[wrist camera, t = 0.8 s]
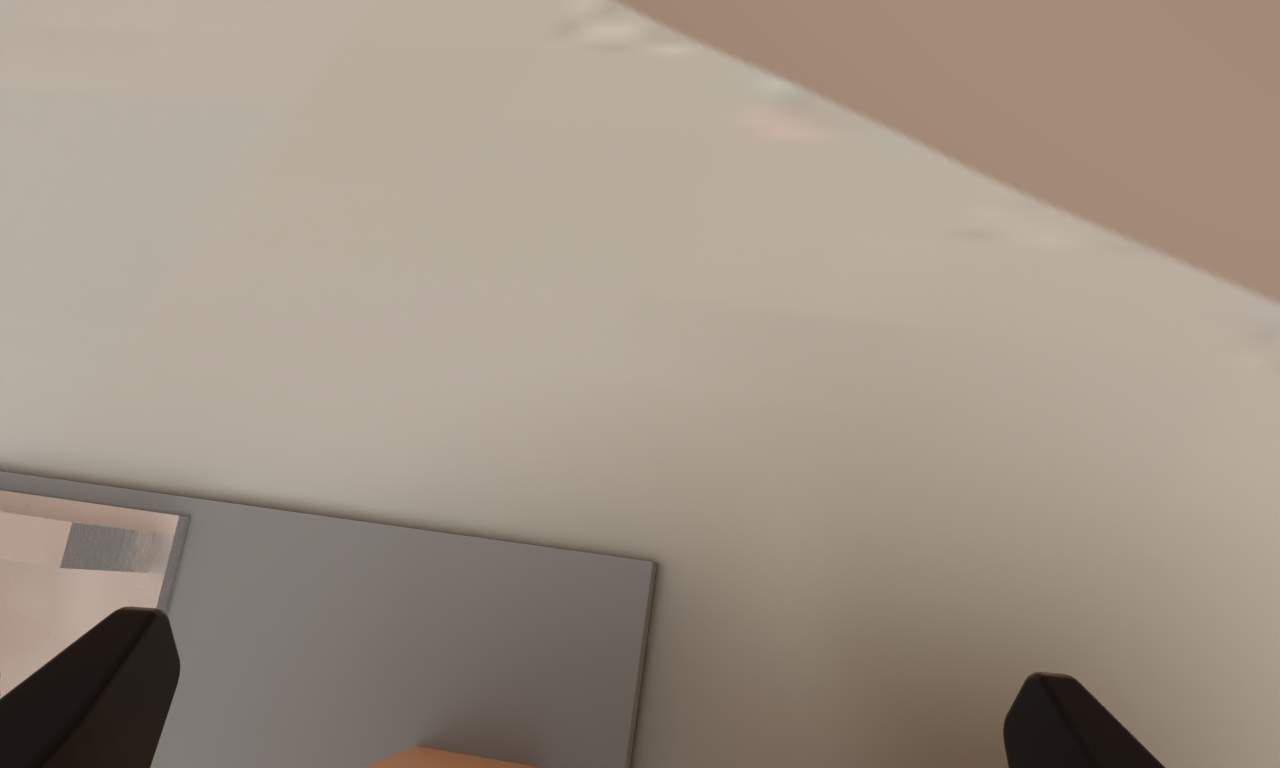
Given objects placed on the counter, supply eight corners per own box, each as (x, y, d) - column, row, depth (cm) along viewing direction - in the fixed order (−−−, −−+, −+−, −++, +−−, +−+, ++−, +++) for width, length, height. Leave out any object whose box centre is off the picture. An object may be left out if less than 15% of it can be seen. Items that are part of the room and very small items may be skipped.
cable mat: (585, 1101, 21) (575, 1130, 20) (-181, 931, 23) (-229, 948, 22) (657, 563, 23) (652, 561, 22) (-40, 466, 26) (-76, 460, 25)
